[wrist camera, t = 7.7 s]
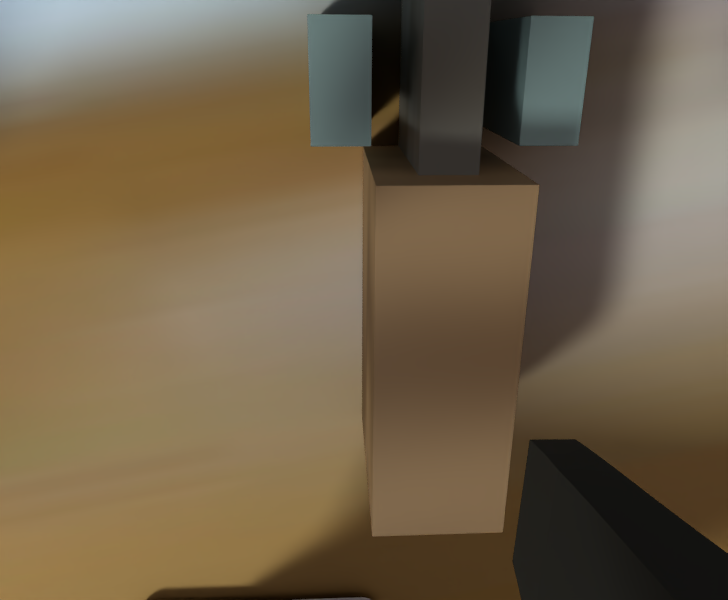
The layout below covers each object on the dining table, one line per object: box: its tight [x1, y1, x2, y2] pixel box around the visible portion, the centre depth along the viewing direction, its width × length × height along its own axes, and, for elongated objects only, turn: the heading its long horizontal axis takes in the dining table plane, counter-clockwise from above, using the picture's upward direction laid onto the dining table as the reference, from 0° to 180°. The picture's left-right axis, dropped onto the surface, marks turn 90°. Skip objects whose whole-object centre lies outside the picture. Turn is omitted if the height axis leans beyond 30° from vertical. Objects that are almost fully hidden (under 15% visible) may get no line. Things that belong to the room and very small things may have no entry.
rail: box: [362, 0, 539, 536], centre depth 15 cm, size 12×3×5 cm, turn 0°
